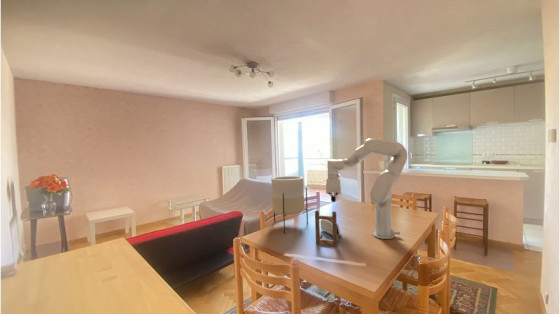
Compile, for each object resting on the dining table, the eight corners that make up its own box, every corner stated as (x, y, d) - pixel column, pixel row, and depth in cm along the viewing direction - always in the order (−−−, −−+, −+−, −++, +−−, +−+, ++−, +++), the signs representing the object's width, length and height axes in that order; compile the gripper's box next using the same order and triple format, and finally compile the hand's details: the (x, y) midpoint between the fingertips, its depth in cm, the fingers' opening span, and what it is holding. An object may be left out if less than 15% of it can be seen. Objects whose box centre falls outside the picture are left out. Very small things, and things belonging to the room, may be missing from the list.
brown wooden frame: (339, 239, 141) (338, 207, 141) (337, 246, 131) (336, 212, 131) (319, 237, 146) (318, 206, 145) (315, 244, 135) (314, 210, 135)
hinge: (342, 237, 146) (340, 221, 145) (336, 239, 144) (334, 223, 143) (326, 229, 161) (324, 215, 160) (321, 231, 159) (319, 217, 158)
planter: (293, 235, 152) (292, 180, 151) (261, 229, 166) (259, 179, 165) (310, 224, 174) (308, 176, 174) (280, 219, 188) (278, 175, 188)
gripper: (344, 176, 168) (344, 201, 169) (323, 175, 173) (324, 200, 174) (343, 177, 161) (343, 203, 162) (321, 177, 166) (322, 202, 167)
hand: (333, 201), depth 168 cm, fingers closed
